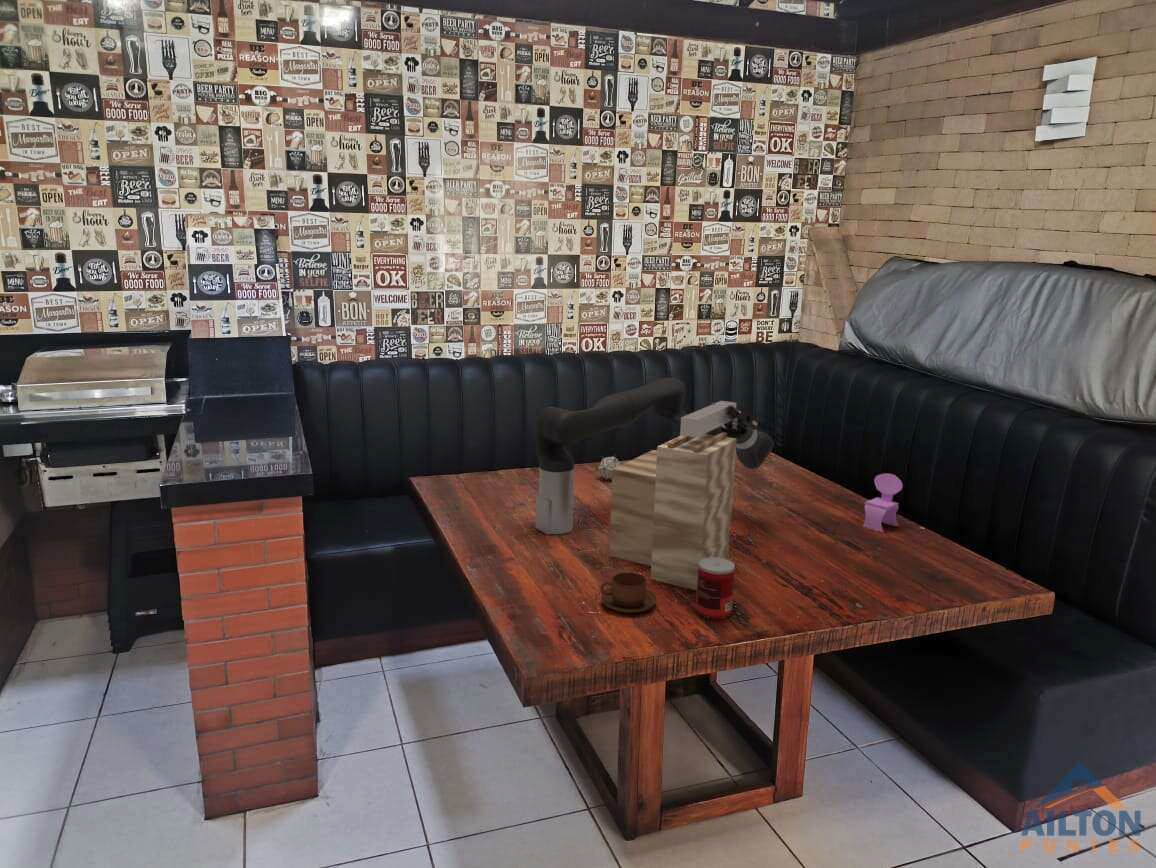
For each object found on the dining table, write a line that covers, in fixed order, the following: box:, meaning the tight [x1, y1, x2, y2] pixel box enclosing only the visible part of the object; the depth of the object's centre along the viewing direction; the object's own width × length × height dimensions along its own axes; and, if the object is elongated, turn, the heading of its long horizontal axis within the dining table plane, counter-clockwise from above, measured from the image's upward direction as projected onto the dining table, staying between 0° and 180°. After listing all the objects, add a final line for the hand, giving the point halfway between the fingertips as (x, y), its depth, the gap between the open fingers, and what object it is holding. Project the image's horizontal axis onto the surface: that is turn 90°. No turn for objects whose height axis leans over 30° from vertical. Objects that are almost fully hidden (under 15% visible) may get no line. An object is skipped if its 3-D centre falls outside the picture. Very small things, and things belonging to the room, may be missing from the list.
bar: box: [679, 400, 737, 438], centre depth 199 cm, size 24×4×4 cm, turn 149°
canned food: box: [695, 557, 736, 618], centre depth 181 cm, size 8×8×11 cm
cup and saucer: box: [599, 572, 657, 614], centre depth 183 cm, size 12×12×6 cm
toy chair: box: [862, 473, 903, 534], centre depth 236 cm, size 8×9×15 cm
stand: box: [608, 432, 737, 591], centre depth 207 cm, size 30×27×33 cm
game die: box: [594, 454, 623, 482], centre depth 274 cm, size 9×8×10 cm
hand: (720, 407), depth 204 cm, fingers closed on bar, 4 cm apart
